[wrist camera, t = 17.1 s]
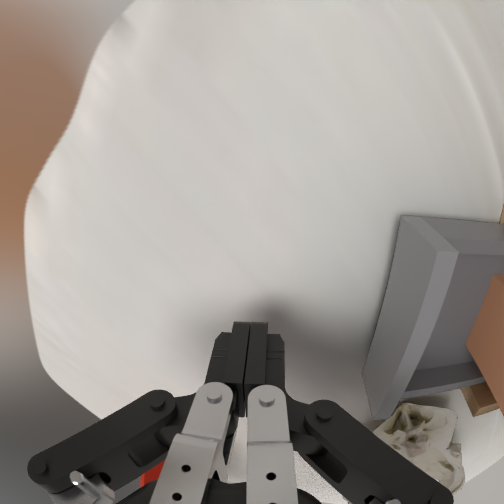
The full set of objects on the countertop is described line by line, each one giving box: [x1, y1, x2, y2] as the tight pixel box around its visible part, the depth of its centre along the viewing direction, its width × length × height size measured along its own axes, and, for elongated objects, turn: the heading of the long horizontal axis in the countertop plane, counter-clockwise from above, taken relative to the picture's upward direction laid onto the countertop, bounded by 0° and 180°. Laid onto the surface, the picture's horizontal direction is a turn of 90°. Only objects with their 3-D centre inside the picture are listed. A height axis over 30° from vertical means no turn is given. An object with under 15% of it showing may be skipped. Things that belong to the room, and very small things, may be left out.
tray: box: [362, 215, 504, 420], centre depth 12 cm, size 10×13×4 cm
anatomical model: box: [343, 403, 465, 504], centre depth 21 cm, size 15×9×25 cm
